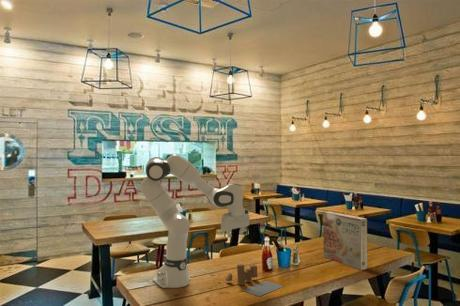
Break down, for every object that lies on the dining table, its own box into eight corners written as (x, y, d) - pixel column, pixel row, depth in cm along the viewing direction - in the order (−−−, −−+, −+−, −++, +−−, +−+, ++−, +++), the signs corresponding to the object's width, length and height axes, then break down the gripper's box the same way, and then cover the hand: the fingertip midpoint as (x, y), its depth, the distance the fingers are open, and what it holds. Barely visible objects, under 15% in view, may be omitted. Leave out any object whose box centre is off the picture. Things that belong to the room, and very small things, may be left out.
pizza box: (323, 259, 245) (323, 212, 246) (329, 258, 248) (329, 211, 248) (360, 272, 217) (360, 219, 217) (367, 271, 220) (366, 218, 220)
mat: (242, 290, 188) (242, 290, 188) (266, 281, 203) (266, 280, 203) (259, 296, 180) (259, 296, 180) (283, 286, 194) (283, 286, 194)
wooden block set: (253, 278, 208) (252, 259, 209) (261, 281, 200) (260, 262, 201) (225, 283, 201) (224, 264, 201) (231, 287, 193) (230, 267, 193)
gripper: (226, 214, 197) (226, 239, 196) (251, 210, 211) (251, 234, 211) (218, 213, 201) (218, 238, 201) (243, 209, 215) (243, 232, 215)
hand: (235, 235), depth 206 cm, fingers open, 8 cm apart
